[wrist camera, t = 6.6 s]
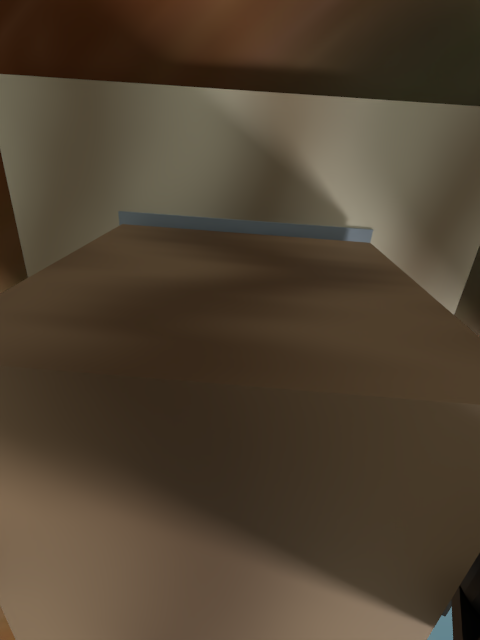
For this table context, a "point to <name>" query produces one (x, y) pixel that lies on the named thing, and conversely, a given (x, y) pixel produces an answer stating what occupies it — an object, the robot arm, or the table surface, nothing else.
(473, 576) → the robot arm
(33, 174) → the blueprint plate
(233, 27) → the table surface
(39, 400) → the walnut block
